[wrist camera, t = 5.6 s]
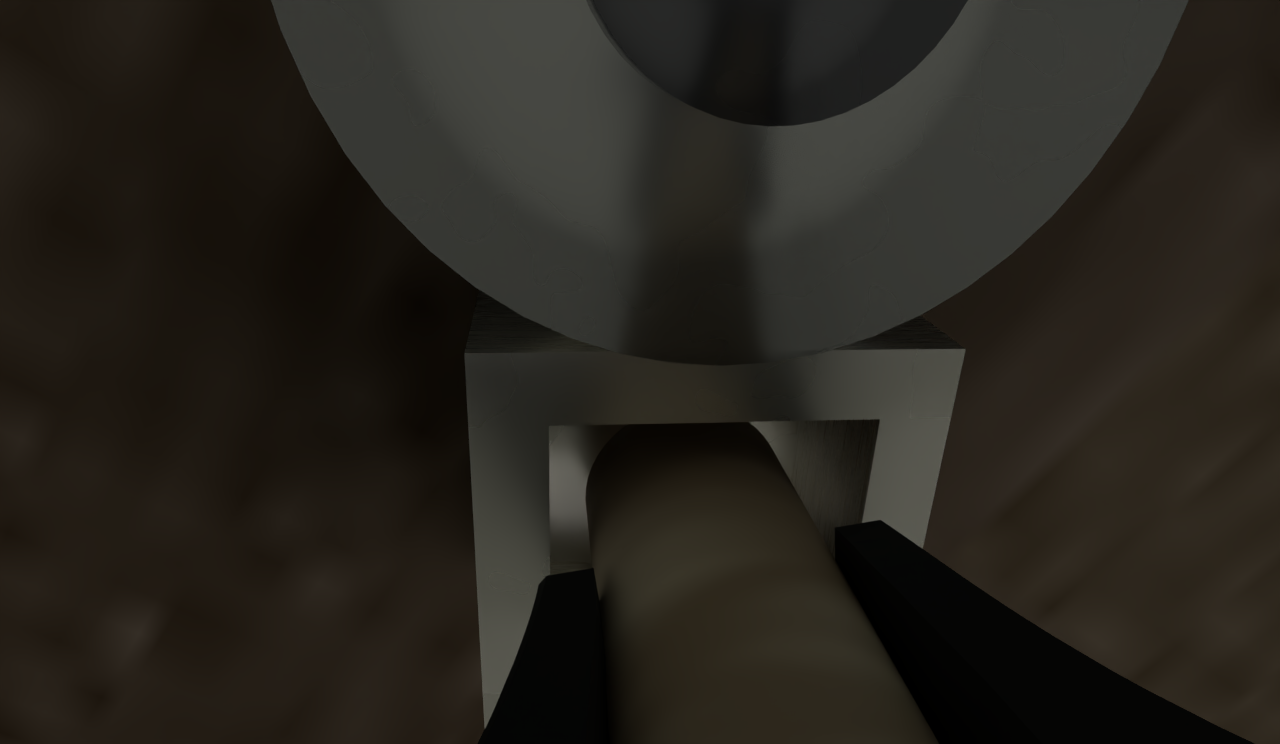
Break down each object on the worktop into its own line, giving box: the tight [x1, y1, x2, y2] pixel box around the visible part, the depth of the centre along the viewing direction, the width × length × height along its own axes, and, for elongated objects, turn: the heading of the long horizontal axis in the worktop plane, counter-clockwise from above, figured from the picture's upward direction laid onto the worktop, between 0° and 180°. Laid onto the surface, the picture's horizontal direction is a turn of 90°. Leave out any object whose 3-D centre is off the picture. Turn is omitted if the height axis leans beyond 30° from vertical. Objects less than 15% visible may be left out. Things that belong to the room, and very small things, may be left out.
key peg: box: [585, 422, 939, 744], centre depth 9 cm, size 3×3×8 cm
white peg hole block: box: [271, 0, 1188, 728], centre depth 10 cm, size 16×10×5 cm, turn 178°
